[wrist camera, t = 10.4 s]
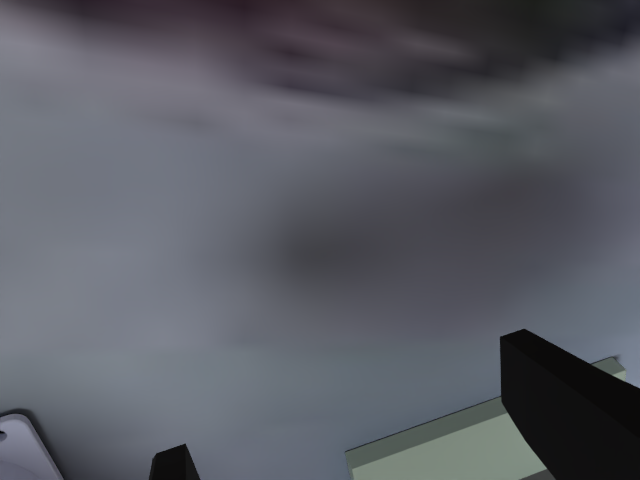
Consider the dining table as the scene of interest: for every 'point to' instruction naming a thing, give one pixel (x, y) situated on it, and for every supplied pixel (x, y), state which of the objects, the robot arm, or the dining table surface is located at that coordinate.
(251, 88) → the dining table surface
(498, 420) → the end holder
